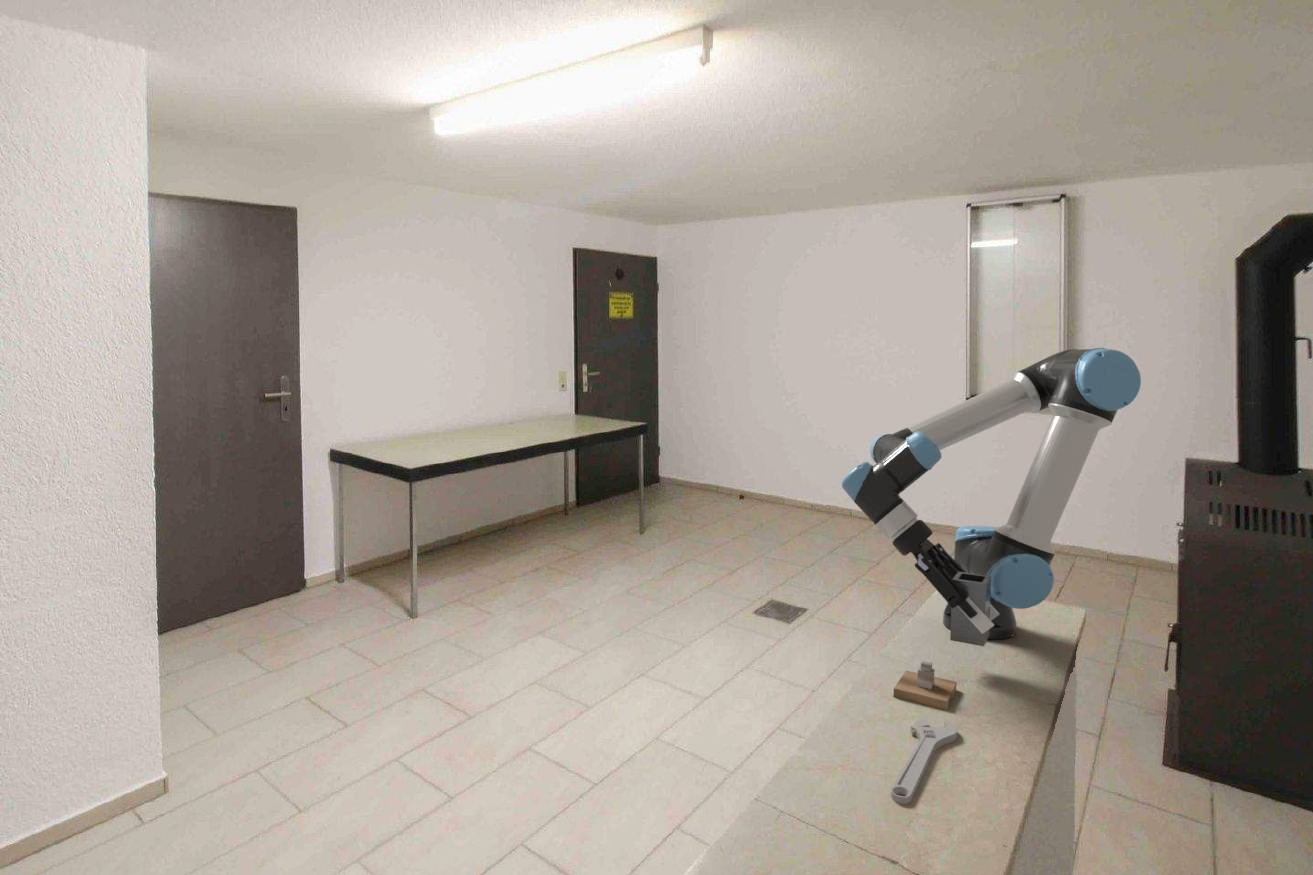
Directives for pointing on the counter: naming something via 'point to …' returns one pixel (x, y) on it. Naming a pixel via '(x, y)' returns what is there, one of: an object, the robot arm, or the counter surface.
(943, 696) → the drive block
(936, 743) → the adjustable wrench
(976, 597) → the grey square tube
